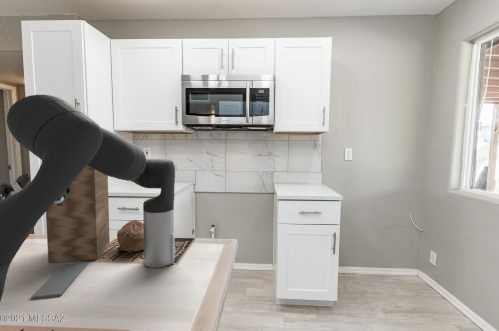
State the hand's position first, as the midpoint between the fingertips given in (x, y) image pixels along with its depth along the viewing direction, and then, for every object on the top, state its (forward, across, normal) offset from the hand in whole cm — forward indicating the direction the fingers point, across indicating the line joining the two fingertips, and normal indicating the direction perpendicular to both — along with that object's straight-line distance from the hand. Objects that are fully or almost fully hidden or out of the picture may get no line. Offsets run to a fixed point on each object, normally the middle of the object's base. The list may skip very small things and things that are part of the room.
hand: (45, 175), depth 68 cm
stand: (+4, 0, +36) cm, 36 cm away
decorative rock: (+3, -17, +36) cm, 40 cm away
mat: (-13, -2, +26) cm, 30 cm away
